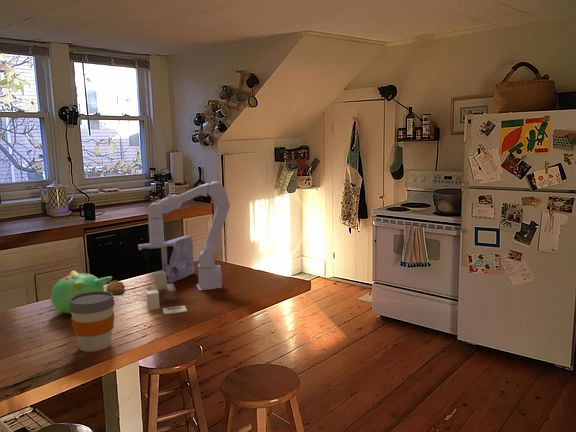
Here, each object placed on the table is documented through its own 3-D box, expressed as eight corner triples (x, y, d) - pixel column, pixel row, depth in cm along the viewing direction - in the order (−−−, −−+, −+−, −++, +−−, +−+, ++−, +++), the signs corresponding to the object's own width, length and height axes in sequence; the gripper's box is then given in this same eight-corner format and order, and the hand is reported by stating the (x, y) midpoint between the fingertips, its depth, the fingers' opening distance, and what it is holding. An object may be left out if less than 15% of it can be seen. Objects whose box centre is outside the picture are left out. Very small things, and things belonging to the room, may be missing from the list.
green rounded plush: (84, 301, 188) (81, 263, 186) (116, 307, 181) (114, 268, 178) (42, 316, 172) (38, 276, 170) (76, 324, 165) (73, 281, 162)
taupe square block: (173, 292, 198) (173, 283, 197) (176, 300, 188) (175, 290, 188) (147, 295, 195) (147, 286, 194) (149, 303, 185) (148, 293, 185)
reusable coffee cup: (126, 340, 151) (123, 293, 148) (95, 357, 139) (91, 307, 137) (95, 334, 156) (91, 289, 153) (63, 350, 144) (58, 301, 142)
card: (184, 306, 181) (184, 305, 181) (187, 311, 175) (187, 310, 175) (162, 308, 178) (162, 308, 178) (164, 314, 172) (164, 313, 172)
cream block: (158, 305, 182) (157, 289, 181) (159, 308, 179) (158, 292, 178) (147, 306, 181) (146, 290, 180) (148, 310, 177) (147, 294, 176)
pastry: (128, 293, 197) (127, 284, 197) (110, 296, 194) (109, 287, 193) (122, 287, 205) (121, 278, 204) (105, 290, 202) (104, 281, 201)
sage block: (166, 286, 193) (165, 271, 192) (167, 288, 190) (166, 273, 189) (155, 287, 192) (154, 272, 191) (156, 290, 188) (155, 275, 188)
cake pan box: (187, 271, 228) (185, 234, 225) (196, 272, 226) (194, 234, 223) (161, 283, 210) (159, 242, 207) (171, 284, 208) (169, 243, 205)
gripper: (138, 236, 190) (140, 269, 192) (176, 233, 195) (177, 266, 197) (137, 232, 196) (139, 265, 199) (174, 230, 201) (175, 262, 203)
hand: (158, 265), depth 198 cm, fingers open, 7 cm apart
